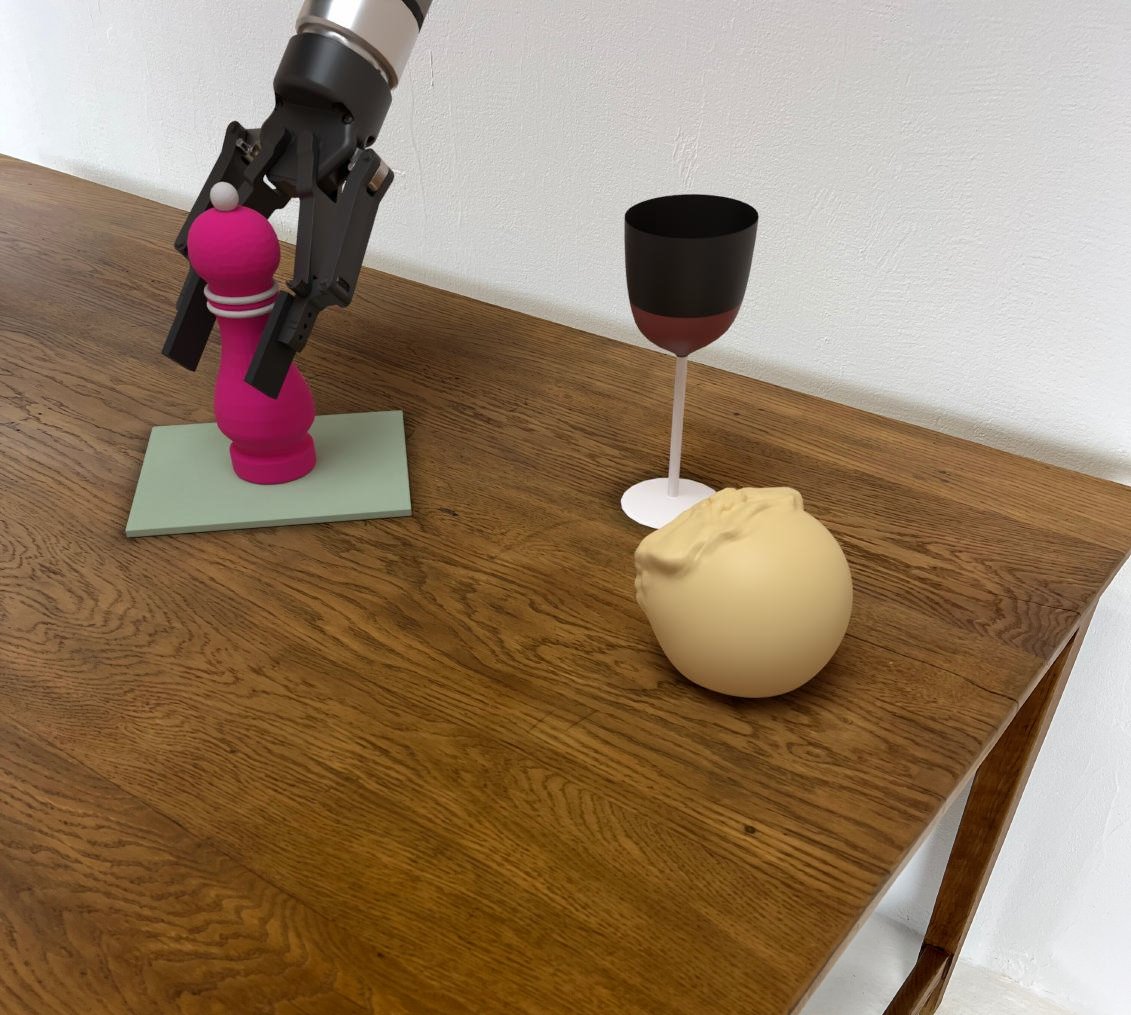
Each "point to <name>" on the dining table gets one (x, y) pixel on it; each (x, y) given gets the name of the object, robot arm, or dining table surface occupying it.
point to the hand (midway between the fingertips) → (218, 375)
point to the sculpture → (745, 591)
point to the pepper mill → (249, 342)
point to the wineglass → (683, 308)
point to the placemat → (225, 501)
